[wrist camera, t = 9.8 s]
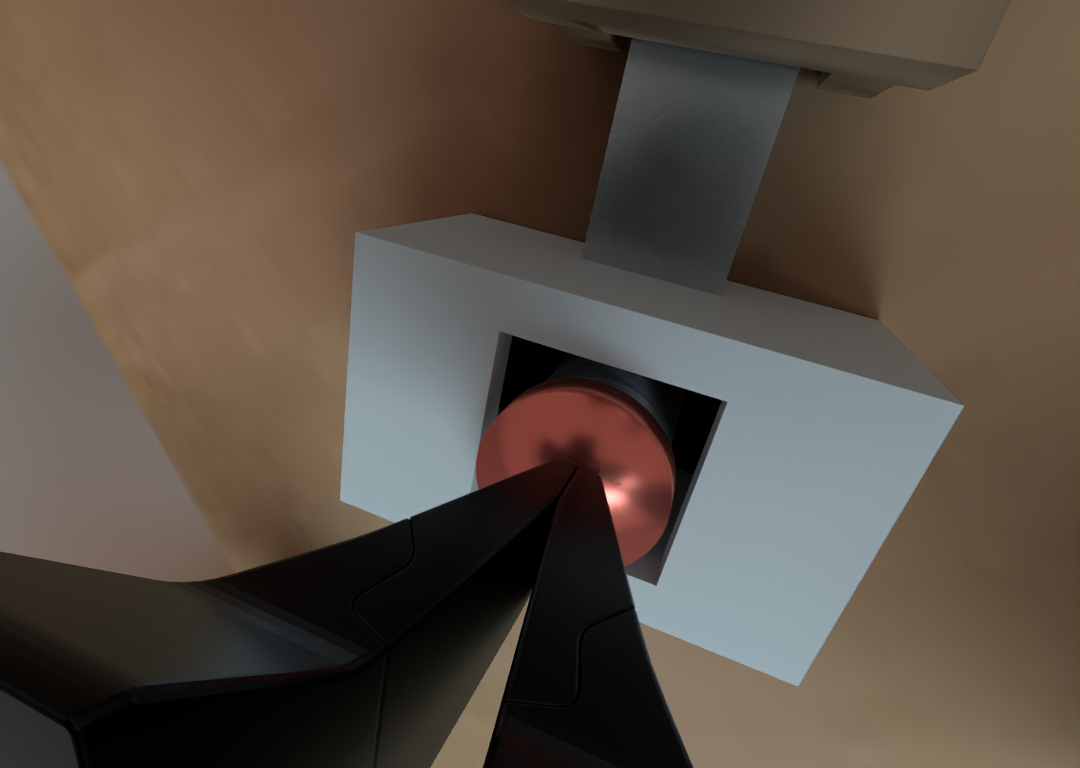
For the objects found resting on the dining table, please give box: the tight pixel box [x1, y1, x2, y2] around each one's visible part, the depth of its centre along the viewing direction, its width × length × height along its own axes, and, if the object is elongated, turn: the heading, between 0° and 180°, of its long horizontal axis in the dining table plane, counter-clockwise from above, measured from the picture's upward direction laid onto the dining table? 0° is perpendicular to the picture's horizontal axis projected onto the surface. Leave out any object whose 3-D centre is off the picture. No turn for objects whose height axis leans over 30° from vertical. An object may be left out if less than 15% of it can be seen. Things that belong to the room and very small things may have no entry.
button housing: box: [340, 213, 964, 686], centre depth 12 cm, size 10×6×5 cm, turn 78°
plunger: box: [476, 353, 683, 566], centre depth 11 cm, size 3×3×5 cm
